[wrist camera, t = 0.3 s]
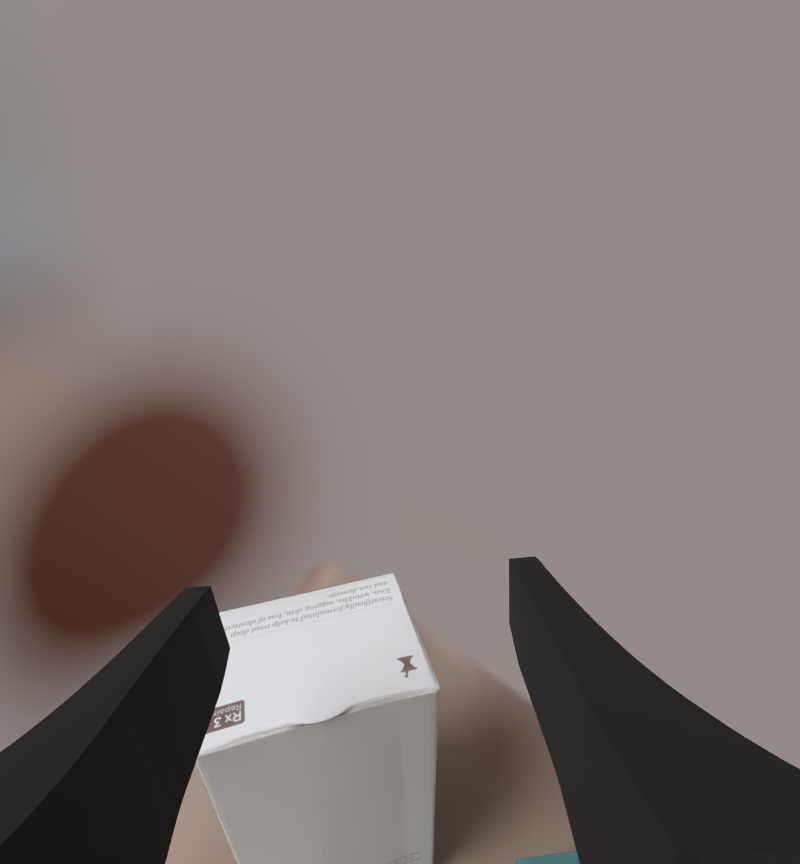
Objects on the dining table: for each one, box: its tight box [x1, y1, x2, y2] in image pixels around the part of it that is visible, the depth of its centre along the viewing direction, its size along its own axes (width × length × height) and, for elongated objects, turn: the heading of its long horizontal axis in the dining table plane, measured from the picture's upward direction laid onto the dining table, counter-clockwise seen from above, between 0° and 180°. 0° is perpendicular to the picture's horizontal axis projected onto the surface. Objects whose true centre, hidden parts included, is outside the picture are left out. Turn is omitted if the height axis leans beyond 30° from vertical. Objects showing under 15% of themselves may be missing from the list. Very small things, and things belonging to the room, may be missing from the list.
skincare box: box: [196, 574, 440, 864], centre depth 22 cm, size 8×6×15 cm
